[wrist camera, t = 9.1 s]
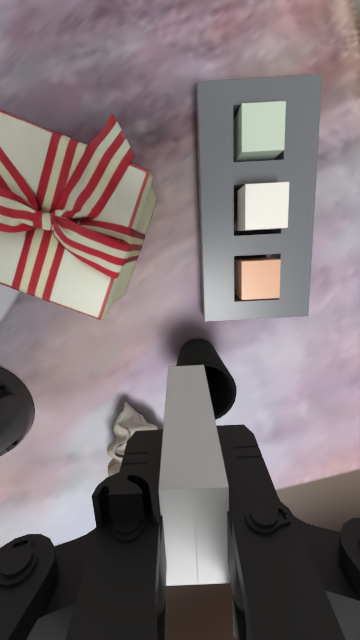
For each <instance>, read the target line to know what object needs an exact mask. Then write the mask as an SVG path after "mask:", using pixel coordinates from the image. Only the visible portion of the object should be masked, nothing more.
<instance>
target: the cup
mask: <svg viewBox="0 0 360 640" xmlns="http://www.w3.org/2000/svg"><path fill="white" fill-rule="evenodd" d="M192 365H204V368H205V373H206V378H207V383H208V388H209V393H210V398H211V402H212V407H213V412H214V417H215V420H216V419H218V418H221V417H222V416H223V415H225V414H226V413H227V412H228V411H229V410H230V409H231V408H232V406H233V404H234V402H235V398H236V385H235V382H234V379H233V377H232V376H231V374H230V373H229V371H228V370H227V368H226V366H225V365H224V363H223V362H222V360H221V359H220V357H219V355H218V354H217V352H216V351H215V349H214V347H213V346H212V345H211V344H210V343H209V342H208V341H206V340H204V339H192V340H189V341H188V342H186V343H185V344H184V345H183V346H182V348H181V350H180V354H179V358H178V362H177V366H192Z"/></svg>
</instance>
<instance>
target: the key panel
mask: <svg viewBox="0 0 360 640" xmlns="http://www.w3.org/2000/svg"><path fill="white" fill-rule="evenodd" d="M321 86H322V75H304V76H286V77H268V78H251V79H233V80H215V81H198V82H197V90H196V125H197V155H198V186H199V217H200V247H201V278H202V309H203V317H204V320H205V321H222V320H242V319H262V318H281V317H301V316H308V311H309V293H310V276H311V259H312V242H313V224H314V207H315V190H316V172H317V155H318V138H319V121H320V103H321ZM276 101H286V114H285V144H284V150H283V151H282V152H281V153H280V154H279V155H278V156H276V157H275V158H274V160H268V161H249V162H234V158H233V118H235V117H236V115H237V113H238V111H239V108H240V106H241V104H242V103H258V102H276ZM278 182H289V207H288V228H279V229H272V234H262V235H243V236H234V190H238V189H240V188H242V187H243V186H244V185H245V184H259V183H278ZM264 254H272V255H271V258H275V259H280V260H281V266H280V297H279V298H270V299H250V300H241V299H240V298H239V297H238V296H234V256H245V255H264Z"/></svg>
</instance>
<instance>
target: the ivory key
mask: <svg viewBox="0 0 360 640" xmlns="http://www.w3.org/2000/svg"><path fill="white" fill-rule="evenodd" d="M288 207H289V182H278V183H259V184H245V185H244V186H243V187H242V188H240V189H239V190H238V191H237V231H247V230H266V229H279V228H288Z"/></svg>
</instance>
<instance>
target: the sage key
mask: <svg viewBox="0 0 360 640" xmlns="http://www.w3.org/2000/svg"><path fill="white" fill-rule="evenodd" d="M285 114H286V101H276V102H258V103H242V104H241V106H240V108H239V111H238V113H237V115H236V117H235V119H234V162H249V161H268V160H273V159H274V158H275V157H276V156H278V155H279V154H280V153H281V152H282V151H283V150H284V144H285Z"/></svg>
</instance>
